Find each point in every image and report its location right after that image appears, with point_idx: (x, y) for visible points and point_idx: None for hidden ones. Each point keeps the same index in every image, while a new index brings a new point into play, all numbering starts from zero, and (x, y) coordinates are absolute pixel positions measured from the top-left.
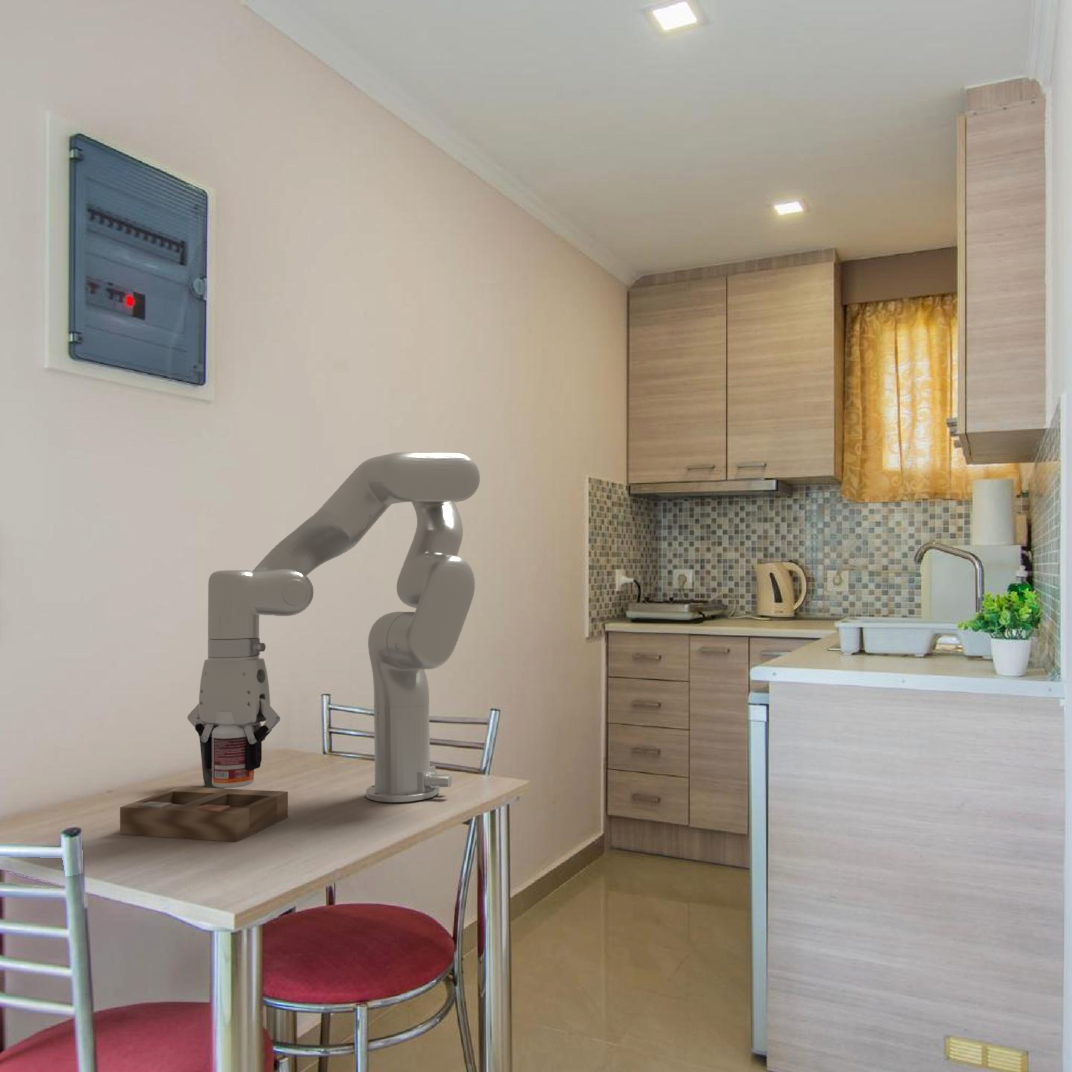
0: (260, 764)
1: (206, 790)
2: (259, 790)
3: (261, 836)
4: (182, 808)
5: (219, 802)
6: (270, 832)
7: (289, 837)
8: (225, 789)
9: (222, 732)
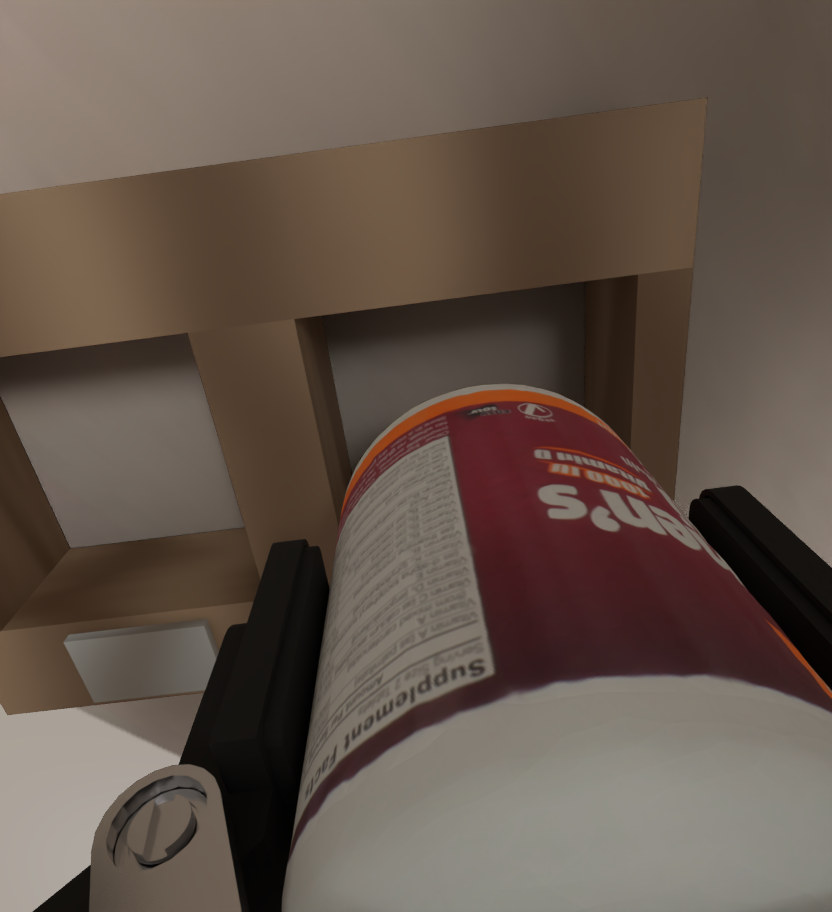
0: (744, 488)
1: (53, 281)
2: (452, 142)
3: (679, 472)
4: None
5: (317, 396)
6: (689, 410)
7: (815, 447)
8: (157, 201)
9: None
